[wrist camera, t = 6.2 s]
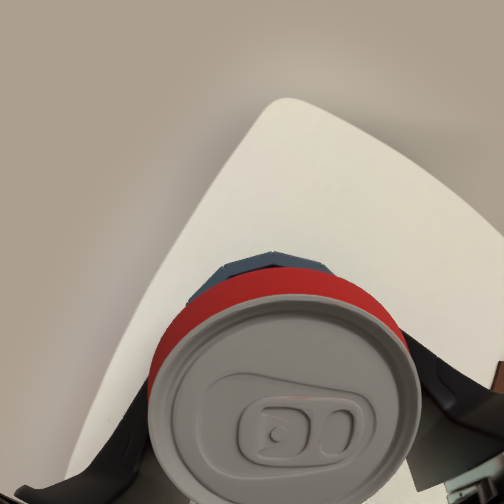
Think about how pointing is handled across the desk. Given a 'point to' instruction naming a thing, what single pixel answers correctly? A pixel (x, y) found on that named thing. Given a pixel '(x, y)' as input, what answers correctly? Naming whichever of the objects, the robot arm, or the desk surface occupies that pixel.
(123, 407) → the desk surface
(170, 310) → the desk surface
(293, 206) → the desk surface
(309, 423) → the beverage can
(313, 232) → the desk surface
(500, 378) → the mat
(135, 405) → the robot arm
